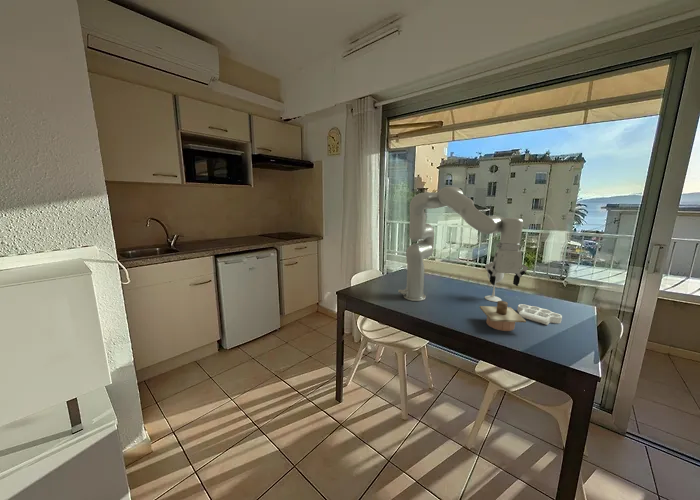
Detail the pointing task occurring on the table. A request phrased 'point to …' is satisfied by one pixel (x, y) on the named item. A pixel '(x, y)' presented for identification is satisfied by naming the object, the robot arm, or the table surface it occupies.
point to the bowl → (501, 325)
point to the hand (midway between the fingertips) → (503, 284)
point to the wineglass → (498, 278)
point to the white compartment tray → (538, 314)
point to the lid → (502, 313)
